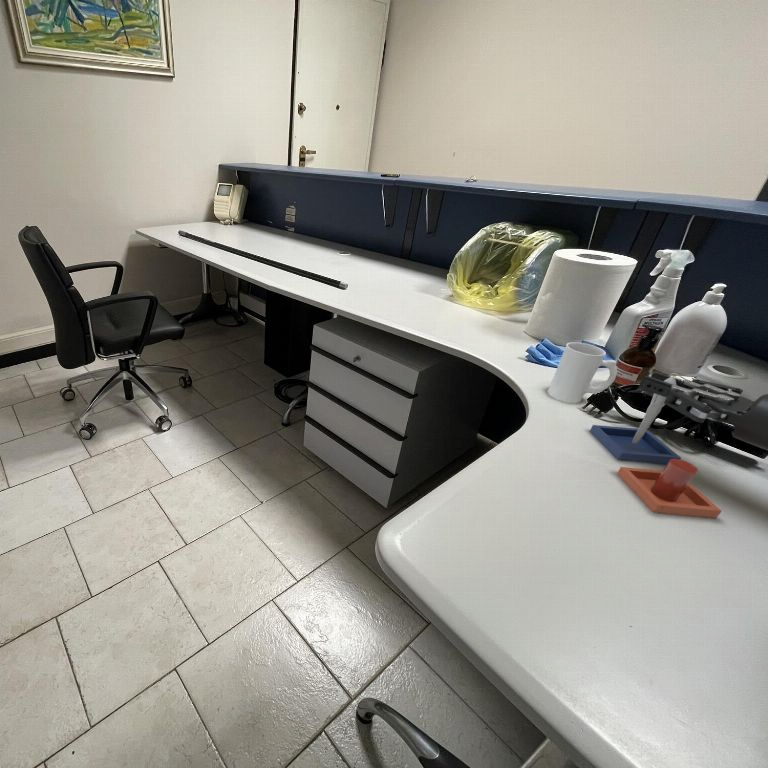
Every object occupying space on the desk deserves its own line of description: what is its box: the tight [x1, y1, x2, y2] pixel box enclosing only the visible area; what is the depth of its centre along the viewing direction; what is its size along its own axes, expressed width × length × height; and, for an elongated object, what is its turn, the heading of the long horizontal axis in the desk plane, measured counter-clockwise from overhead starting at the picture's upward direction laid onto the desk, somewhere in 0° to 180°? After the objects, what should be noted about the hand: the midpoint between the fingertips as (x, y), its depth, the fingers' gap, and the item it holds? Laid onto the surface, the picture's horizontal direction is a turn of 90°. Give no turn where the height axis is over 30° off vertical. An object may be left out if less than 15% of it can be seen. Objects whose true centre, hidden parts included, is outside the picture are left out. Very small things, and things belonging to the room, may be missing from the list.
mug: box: [547, 341, 618, 404], centre depth 88 cm, size 10×7×12 cm, turn 49°
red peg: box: [651, 459, 699, 502], centre depth 63 cm, size 3×3×6 cm
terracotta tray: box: [616, 466, 722, 519], centre depth 64 cm, size 9×9×2 cm
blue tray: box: [589, 424, 682, 465], centre depth 75 cm, size 10×9×2 cm
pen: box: [632, 375, 676, 444], centre depth 71 cm, size 2×3×14 cm
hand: (647, 379), depth 71 cm, fingers closed on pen, 2 cm apart
